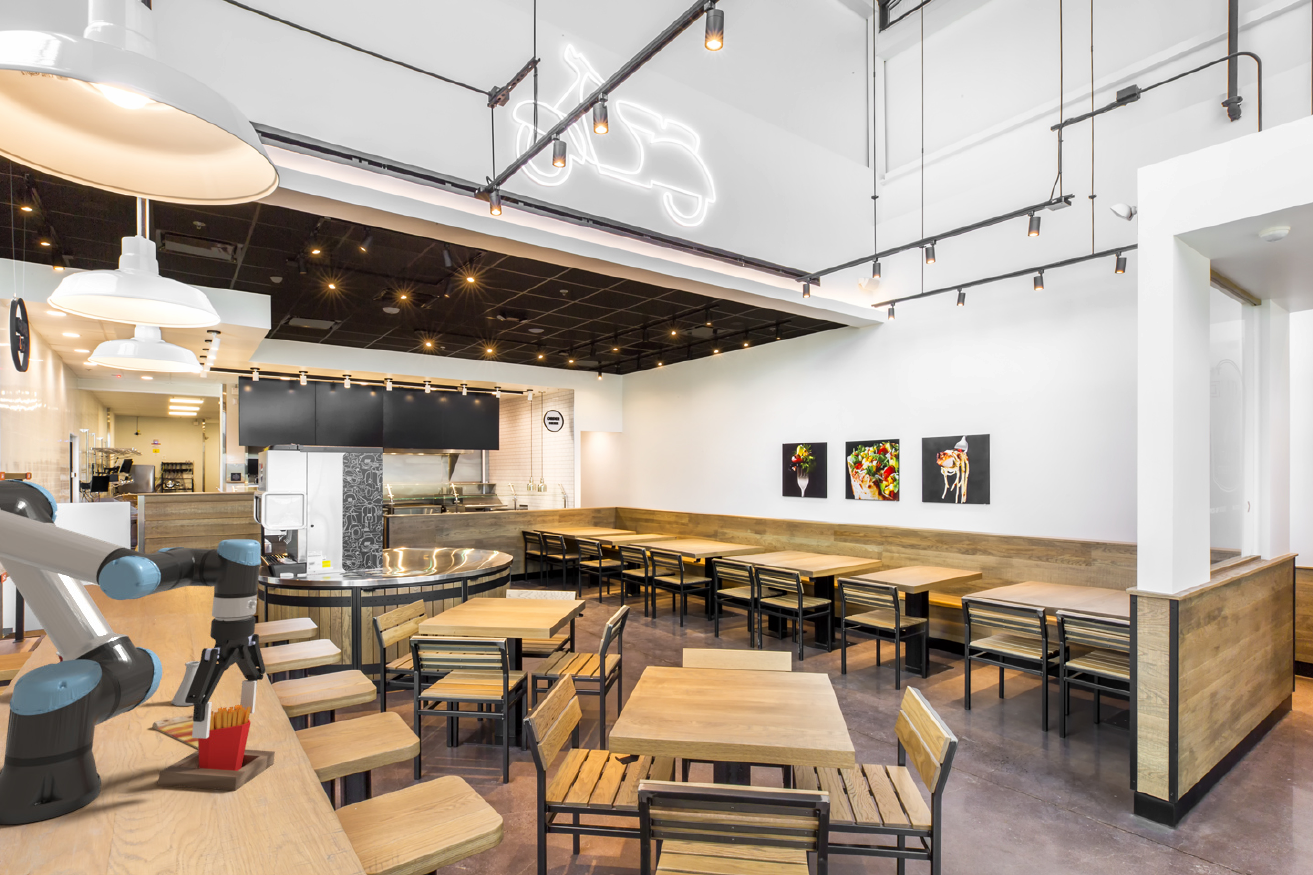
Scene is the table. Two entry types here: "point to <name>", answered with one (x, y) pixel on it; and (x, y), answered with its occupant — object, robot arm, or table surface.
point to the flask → (186, 684)
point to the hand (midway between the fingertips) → (224, 724)
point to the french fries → (225, 739)
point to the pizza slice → (178, 729)
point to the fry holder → (215, 772)
